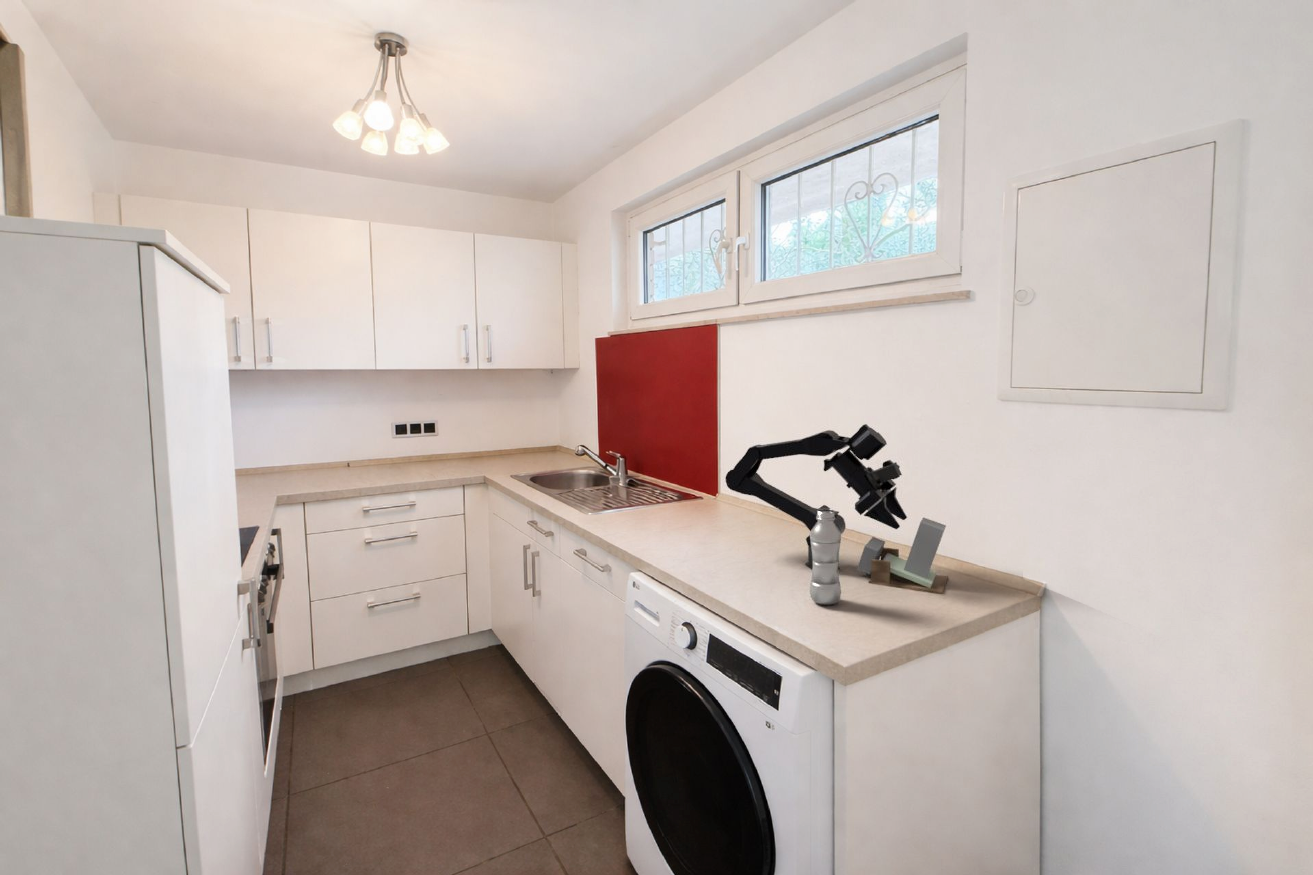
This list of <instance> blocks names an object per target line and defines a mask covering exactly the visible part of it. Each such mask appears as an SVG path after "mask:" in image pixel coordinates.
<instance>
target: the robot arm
mask: <svg viewBox="0 0 1313 875" xmlns="http://www.w3.org/2000/svg"><path fill="white" fill-rule="evenodd" d="M887 445H888V444H887V441H886V439H885V438H884V437H883V435H882V434H881V433H879V432H877V431H876V430H875V429H874V428H872V427H870V426H869V425H868V424H866V423H864V424H863V425H861V426H860V428H858V430H857V431H856V432H855V433H854V434H853V435H852V436H851V437H849V436H842V435H839V434H838V433H837V432H835V431H834V430H831V429H829V430H824V431H821V432H818V433H816V434H812V435H810V436H807V437H804V438H800V439H793V440H786V441H781V442H774V443H773V442H772V443H767V444H766V443H765V444H756V445H753V446H752V445H751V446H750V447H749V448H748V449H747V450H746V452H745V454H744V455H743V456H742V458H741V459H739V461H738V462H737V463H736V465H734V467H733V469H730V470H729V471H728V472H727V473H726V475H725V477H724V478H725V483H726V487H727V488H728V489H730V490H731V491H734V492H736V493H738V494H741V495H746V496H752V497H755V498H758V499H759V500H761V501H763V502H765V503H767V504H769V505H771V506H772V507H774V508H776V509H778V510H779V511H781V512H783V513H785V514H787V515H788V516H790V517H791V518H793V519H796V520H798V521H799V522H800V523H802V524H804V525H805V527H807V529H808V531H810V532H811V530H812V528H813V527H814V525H815V524H816V523H817V521H818V520H817V519H816V516H817V510H819V509H831V508H830V507H829V506H827V505H826V504H823V505H822V506H821V507H819V508H817V507H812V506H811V505H809V504H807V503H805V502H804V501H801V500H799V499H798V498H796V497H794V496H792V495H790V494H788V493H786V492H784V491H783V490H781V489H779V488H777V487H775V486H773V485H772V484H770V483H767V482H766V481H764V479H763V478H762V477H761V475H760V474H759V473H758V470H759V469H760V466H761V464H762V462H763V461H764V460H768V459H777V458H784V457H790V456H798V455H803V456H811V457H812V456H813V457H826V456H829V455H832V454H833V453H835V454H834V455H833V456H832V457H830V458H825V459H824V460H823V471H824V472H827V471H829V470H831V469H832V468H833V469H834V470H835V471H836V473H837V474H839V476H840V477H841V478H842V480H844V481H845V483H847V484H846V487H847V488H848V489H852V490H853V491H854V492H855V493H856V494H857V495H858V500H857V501H856V502H855V503H854V510H855V511H856V512H857V513H858V514H859V515H860V516H862V515H863V516H864V517H868V518H870V519H872V520H875V521H877V522H879V523H882V524H884V525H886V526H888V527H890V528H892V529H895V530H898V529H899V528H900V527H901V525H900V523H899V522H898V521H897V520H896V518H898V519H901V521H905V520H906V519H908V516H907V515H906V513H905V510H904V509H903V508H902V506H901V503H900V502H899V501H898V498H897V486H896V485H897V483H895V482H894V480H896V479H898V478H900V476H902V475H903V474H902V472H901V470H900V465H899V464H898V463H897V462H896V461H895V462H893V461H892V460H890V459H889V460H886V461H883V463H882V467H879V468H878V469H873V468H872V466H871V467H870V466H868V467H866V465H864V464H863V462H861V461H863V460H866V461H869V460H870V459H872V458H873V457H874V456H875V455H876V454H877V453H879V452H880V451H881V450H882V449H883V448H884V447H886V446H887ZM847 447H848V448H847ZM845 448H847V449H846V450H844V449H845ZM842 449H843V450H844V452H840V451H839V450H842ZM834 512H835V520H834V523H835V525H836V526H837V527H838V529H839V531H840V534H841V535H843V534H844V532H846V531H845V529H846V527H847V526H846V521H845V518H844V517H842V516H841V515H840V514H839V513H840V511H838V510H834ZM895 517H896V518H895ZM805 542H806V543H807V549H808V551H807V554H808V558H807V560H808V561H806V562H805V564H804V565H805V566H806V567H808V568H809V569H811V570H812V569H813V559H812V548H811V541H810V534H809V535H808V536H807V537H805ZM839 560H840V559H839ZM839 560H838V571H841V567H839V564H840V563H839Z"/></svg>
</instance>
